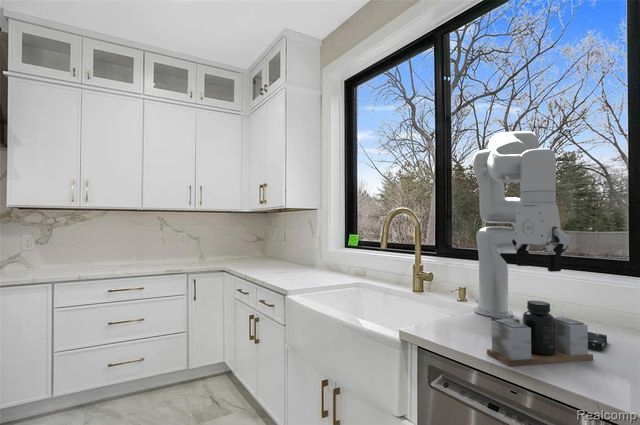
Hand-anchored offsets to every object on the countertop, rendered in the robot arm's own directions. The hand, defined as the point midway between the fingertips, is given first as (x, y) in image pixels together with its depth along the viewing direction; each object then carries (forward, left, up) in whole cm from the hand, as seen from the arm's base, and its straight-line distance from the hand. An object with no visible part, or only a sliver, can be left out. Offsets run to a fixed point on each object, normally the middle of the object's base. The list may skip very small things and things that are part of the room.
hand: (537, 268), depth 88 cm
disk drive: (-9, +19, -22) cm, 31 cm away
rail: (0, 0, -22) cm, 22 cm away
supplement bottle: (0, 0, -21) cm, 21 cm away
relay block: (-17, +4, -22) cm, 28 cm away
